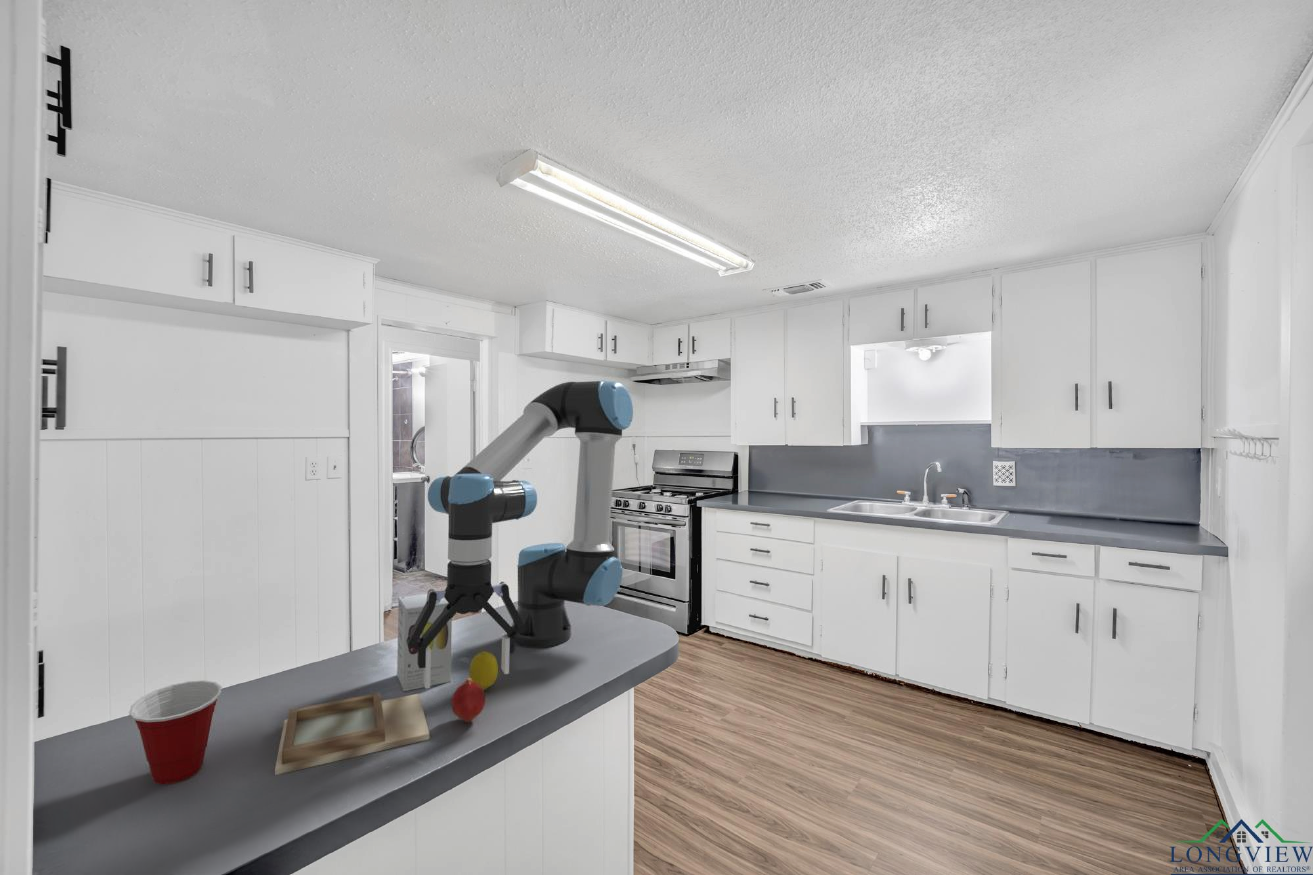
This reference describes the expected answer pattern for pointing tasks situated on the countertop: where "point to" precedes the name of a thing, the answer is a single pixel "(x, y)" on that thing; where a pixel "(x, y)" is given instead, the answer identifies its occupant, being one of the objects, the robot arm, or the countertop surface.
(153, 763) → the plastic cup
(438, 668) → the supplement box
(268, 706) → the countertop surface
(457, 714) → the onion
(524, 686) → the countertop surface
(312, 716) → the board
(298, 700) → the countertop surface
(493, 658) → the lemon
